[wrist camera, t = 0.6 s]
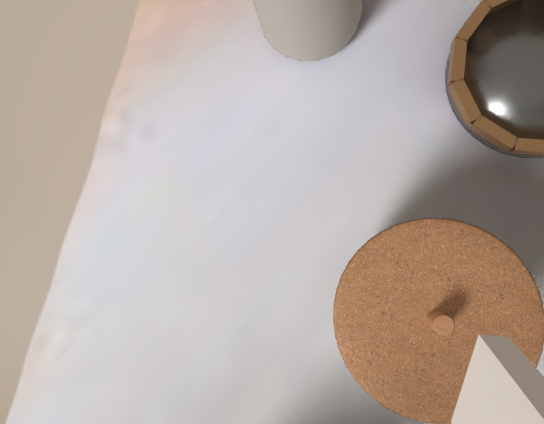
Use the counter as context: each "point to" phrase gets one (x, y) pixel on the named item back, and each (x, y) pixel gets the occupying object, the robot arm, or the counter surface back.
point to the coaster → (500, 76)
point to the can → (308, 26)
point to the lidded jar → (431, 312)
